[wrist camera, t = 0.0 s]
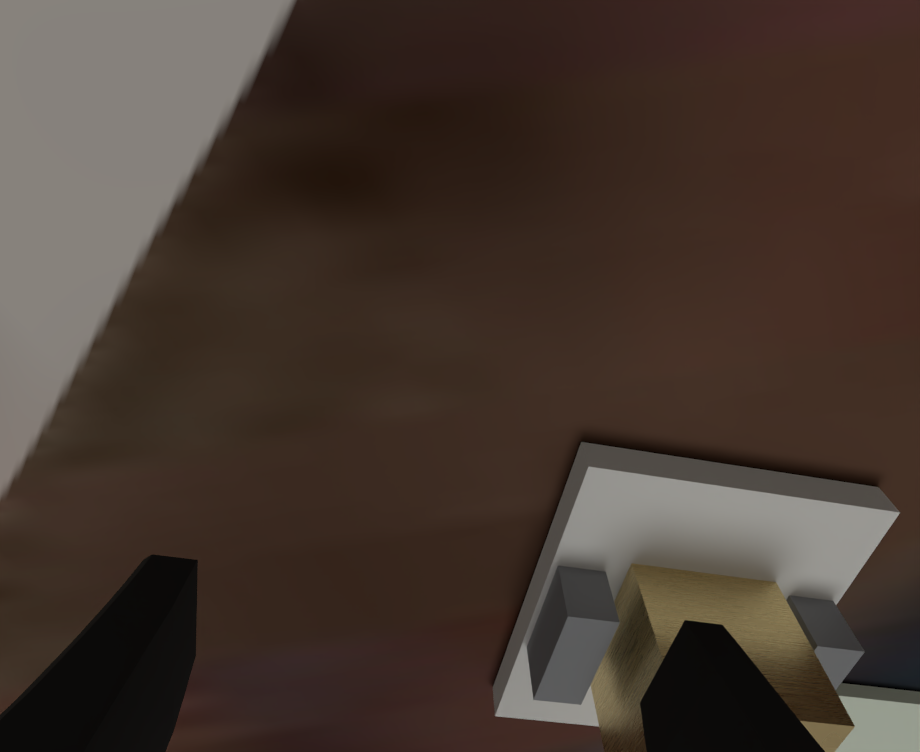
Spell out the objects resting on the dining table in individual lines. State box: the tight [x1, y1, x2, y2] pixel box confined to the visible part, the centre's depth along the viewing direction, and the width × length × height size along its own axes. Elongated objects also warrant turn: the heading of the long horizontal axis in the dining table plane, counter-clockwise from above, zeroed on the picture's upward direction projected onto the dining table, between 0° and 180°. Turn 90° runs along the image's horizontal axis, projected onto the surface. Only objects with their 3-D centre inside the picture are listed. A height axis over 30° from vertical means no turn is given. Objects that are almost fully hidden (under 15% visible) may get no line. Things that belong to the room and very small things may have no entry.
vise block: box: [493, 442, 900, 726], centre depth 22 cm, size 12×10×6 cm
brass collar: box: [591, 563, 855, 752], centre depth 22 cm, size 5×5×5 cm
